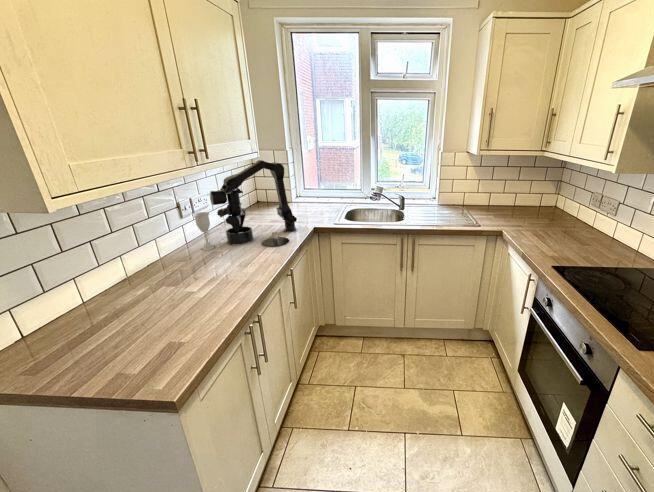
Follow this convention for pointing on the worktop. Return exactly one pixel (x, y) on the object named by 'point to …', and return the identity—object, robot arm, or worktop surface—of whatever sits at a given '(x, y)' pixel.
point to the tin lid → (275, 241)
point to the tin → (239, 235)
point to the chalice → (203, 227)
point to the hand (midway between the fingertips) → (239, 230)
